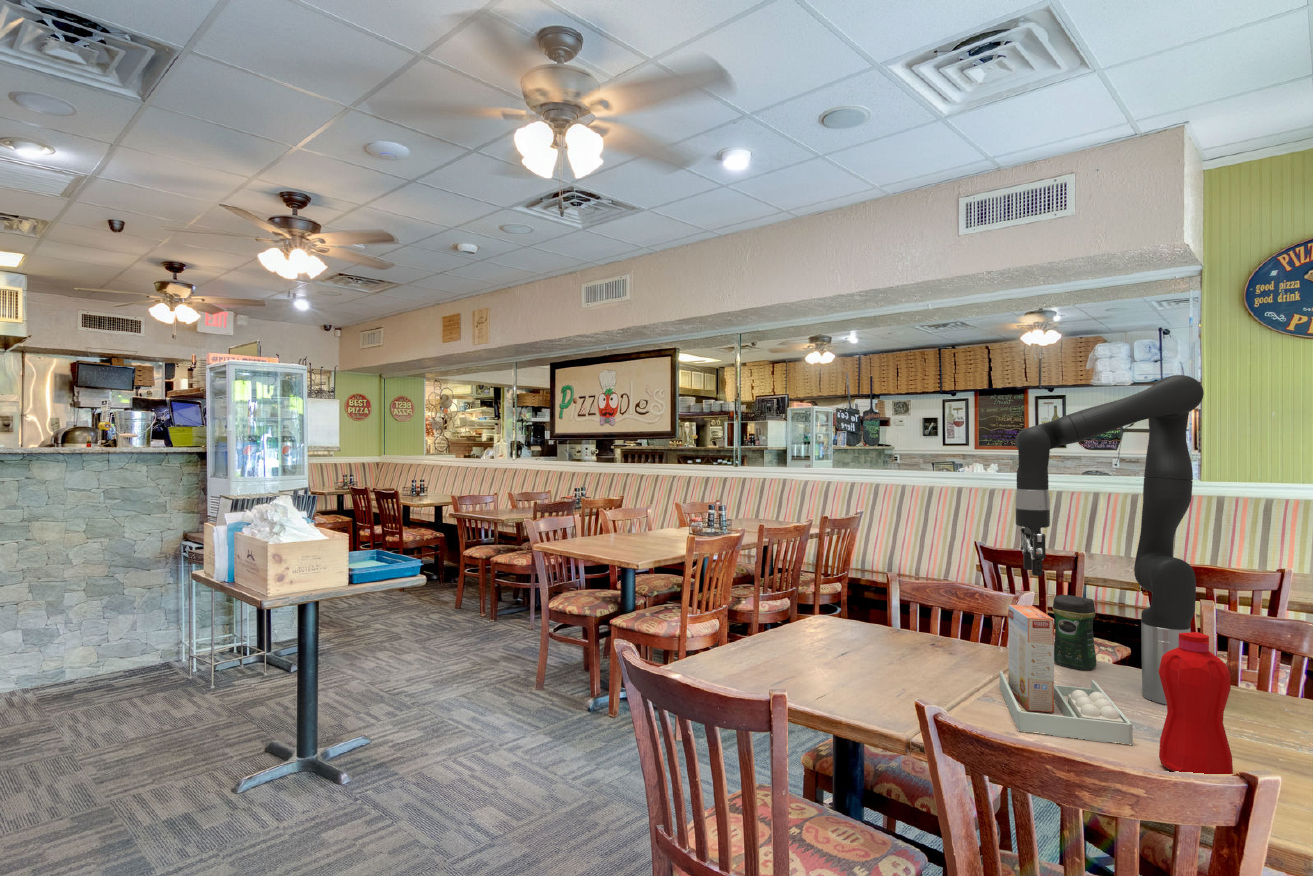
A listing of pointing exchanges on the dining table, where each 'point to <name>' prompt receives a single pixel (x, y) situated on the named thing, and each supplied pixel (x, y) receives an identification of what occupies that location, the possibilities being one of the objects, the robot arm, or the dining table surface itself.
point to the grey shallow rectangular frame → (1068, 718)
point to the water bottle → (1195, 708)
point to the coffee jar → (1074, 632)
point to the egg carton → (1093, 706)
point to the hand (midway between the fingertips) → (1032, 572)
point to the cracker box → (1031, 657)
